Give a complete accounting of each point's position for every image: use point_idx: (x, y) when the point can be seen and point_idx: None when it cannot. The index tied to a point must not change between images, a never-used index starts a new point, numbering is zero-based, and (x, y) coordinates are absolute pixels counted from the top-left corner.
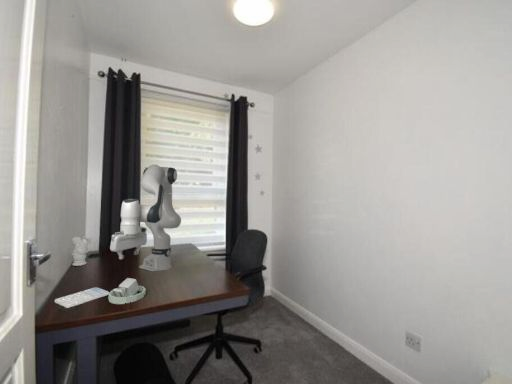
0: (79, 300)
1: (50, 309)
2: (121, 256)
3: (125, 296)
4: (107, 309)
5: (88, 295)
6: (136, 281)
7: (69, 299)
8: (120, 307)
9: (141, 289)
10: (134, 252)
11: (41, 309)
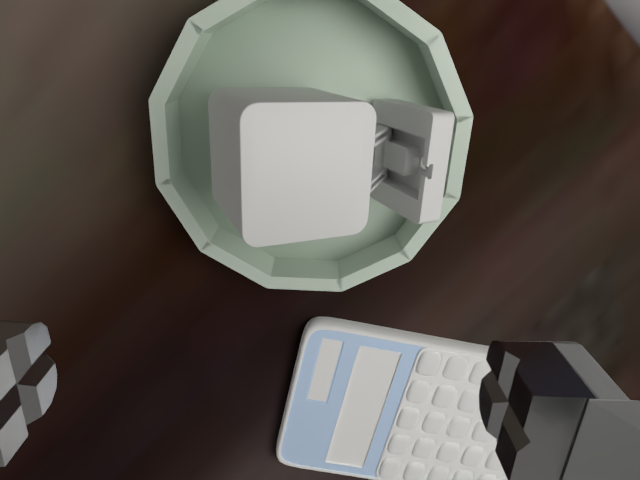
0: None
1: None
2: (614, 389)
3: None
4: (548, 106)
5: (420, 390)
6: (245, 101)
7: None
8: (495, 33)
9: (172, 104)
10: (20, 427)
11: None
